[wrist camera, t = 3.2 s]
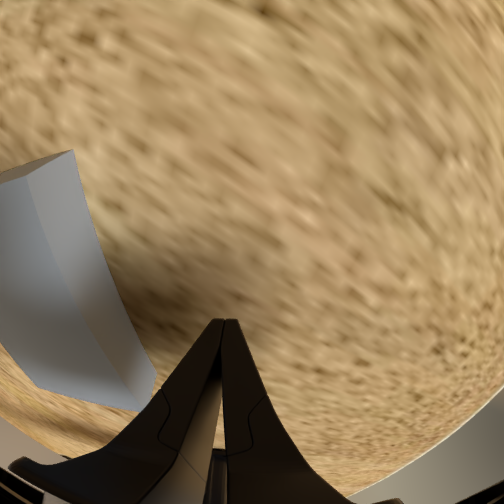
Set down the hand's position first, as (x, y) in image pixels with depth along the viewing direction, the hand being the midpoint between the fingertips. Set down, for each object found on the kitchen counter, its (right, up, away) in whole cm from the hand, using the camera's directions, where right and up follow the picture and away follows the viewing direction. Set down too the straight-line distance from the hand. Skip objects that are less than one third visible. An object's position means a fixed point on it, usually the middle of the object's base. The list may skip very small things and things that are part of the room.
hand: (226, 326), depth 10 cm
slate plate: (-9, +1, +2) cm, 9 cm away
